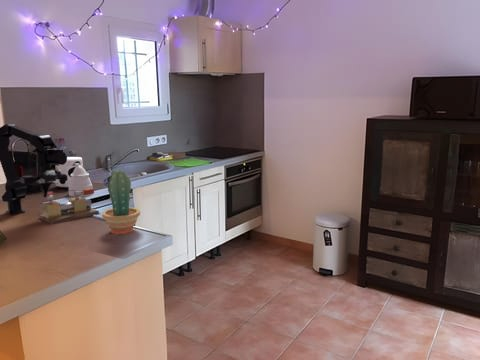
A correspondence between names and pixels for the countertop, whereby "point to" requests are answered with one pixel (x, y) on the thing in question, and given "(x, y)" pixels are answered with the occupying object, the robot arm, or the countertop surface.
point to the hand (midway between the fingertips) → (45, 197)
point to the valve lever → (50, 196)
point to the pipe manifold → (68, 205)
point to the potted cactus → (119, 203)
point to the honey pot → (79, 181)
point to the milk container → (67, 170)
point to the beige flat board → (70, 216)
